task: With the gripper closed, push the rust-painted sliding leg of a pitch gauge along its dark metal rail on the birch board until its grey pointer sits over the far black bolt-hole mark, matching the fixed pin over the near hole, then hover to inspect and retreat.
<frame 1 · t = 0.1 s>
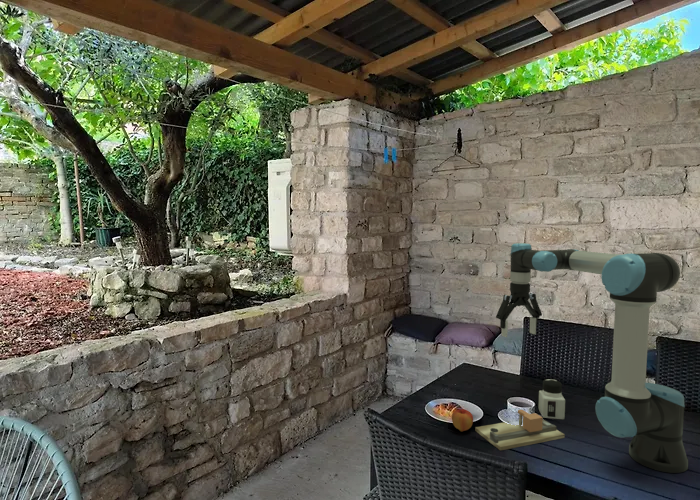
hand: (518, 334, 179), 28 cm above the table, fingers open, 13 cm apart
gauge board: (519, 434, 155), on the table
sliding leg: (527, 421, 155), point 5 cm above the table, slide at 0.0 cm
apple: (462, 430, 159), on the table
container: (551, 414, 171), on the table
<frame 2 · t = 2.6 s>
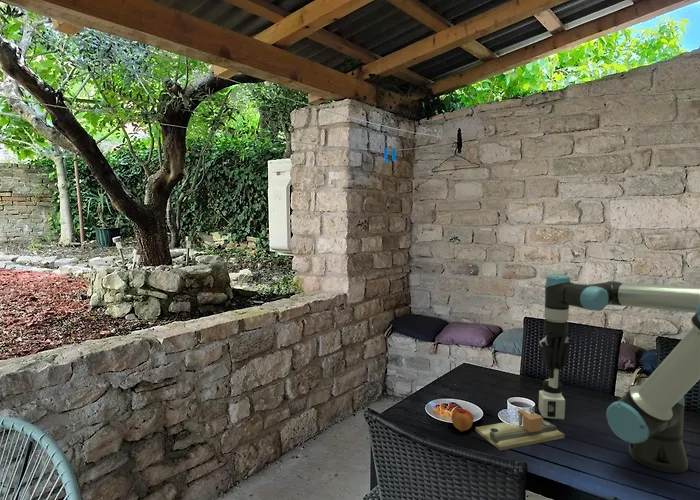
hand: (553, 386, 155), 17 cm above the table, fingers closed
nothing on the table moved.
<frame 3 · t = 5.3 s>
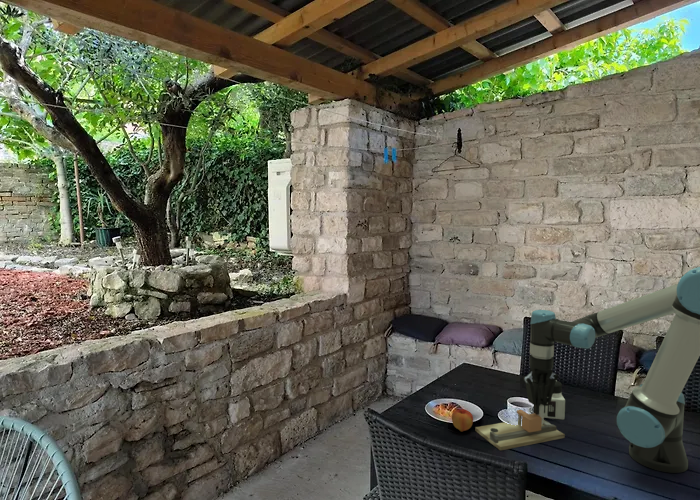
hand: (538, 422, 154), 5 cm above the table, fingers closed
sliding leg: (526, 421, 155), point 5 cm above the table, slide at 0.4 cm, touching gripper
everything else where it was.
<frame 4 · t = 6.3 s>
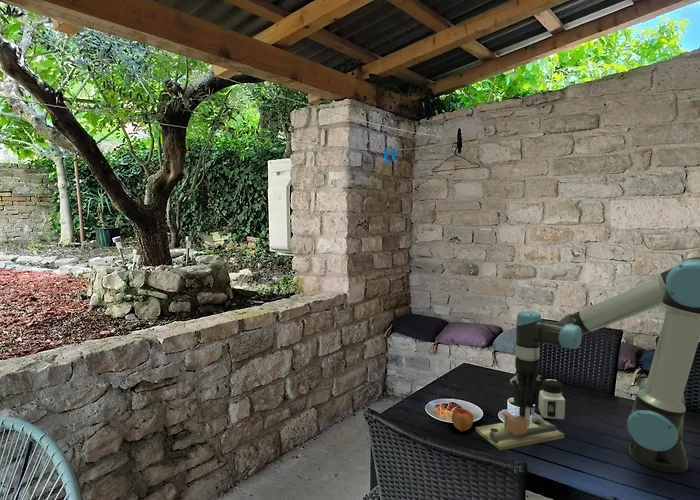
hand: (524, 425, 152), 5 cm above the table, fingers closed
sliding leg: (512, 423, 154), point 5 cm above the table, slide at 6.2 cm, touching gripper
everything else where it was.
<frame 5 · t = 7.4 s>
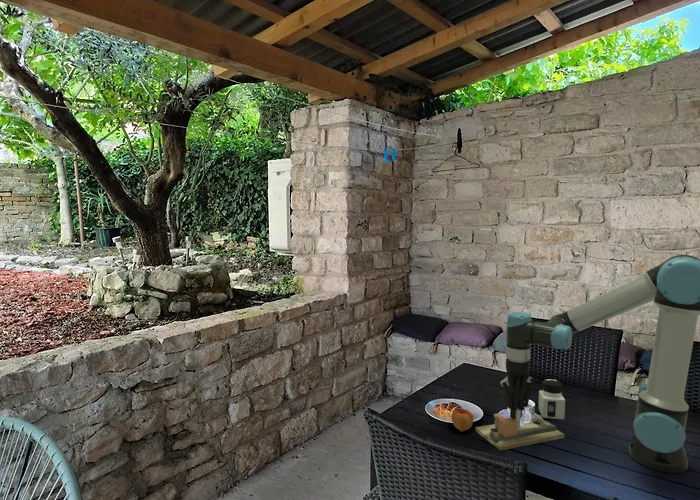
hand: (515, 427, 151), 4 cm above the table, fingers closed
sliding leg: (503, 425, 152), point 5 cm above the table, slide at 10.1 cm, touching gripper
everything else where it was.
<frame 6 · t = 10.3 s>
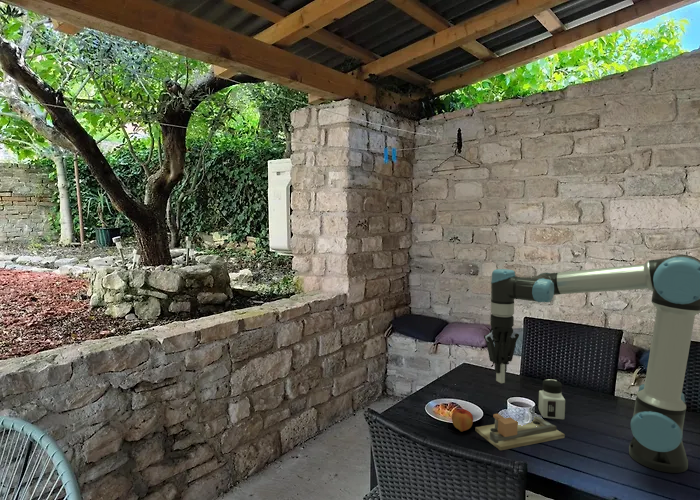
hand: (500, 381, 155), 18 cm above the table, fingers closed
sliding leg: (503, 425, 152), point 5 cm above the table, slide at 10.2 cm
everything else where it was.
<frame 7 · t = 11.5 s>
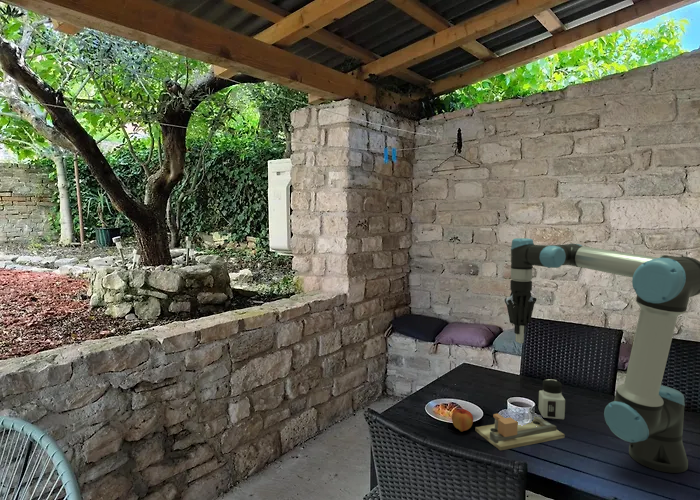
hand: (519, 342, 168), 28 cm above the table, fingers closed
nothing on the table moved.
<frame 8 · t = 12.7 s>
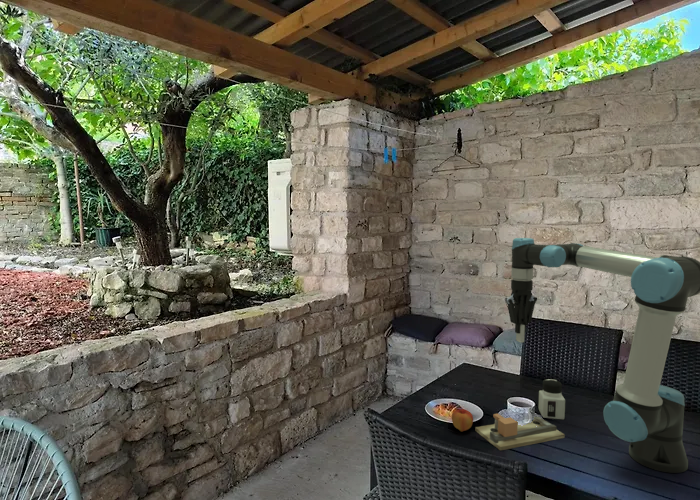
hand: (520, 341, 169), 28 cm above the table, fingers closed
nothing on the table moved.
at the end: sliding leg slide at 10.2 cm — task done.
